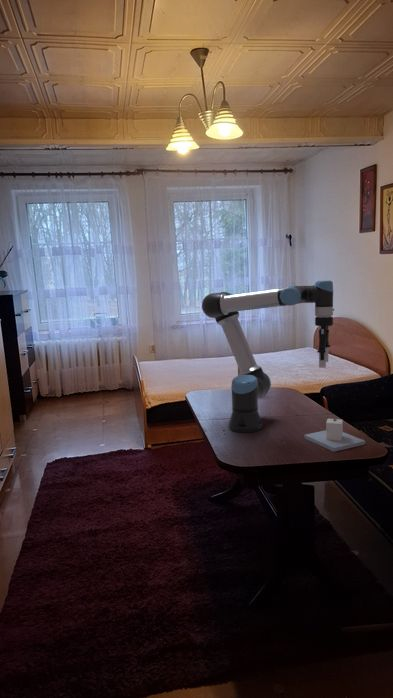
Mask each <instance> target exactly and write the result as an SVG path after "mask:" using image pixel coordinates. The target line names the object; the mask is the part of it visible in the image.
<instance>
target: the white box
mask: <svg viewBox="0 0 393 698" xmlns="http://www.w3.org/2000/svg"><path fill="white" fill-rule="evenodd" d="M343 425H344V424H343V419H339V418H336V417H333V418H327V420H326V423H325V430H326V439H327V440H338V441H342V434H343V432H344V429H343Z"/></svg>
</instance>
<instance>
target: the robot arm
mask: <svg viewBox="0 0 393 698" xmlns="http://www.w3.org/2000/svg"><path fill="white" fill-rule="evenodd" d="M313 303H314V316H315V318H314V325H315V326H316V327H320V328H319V330H318V338H319V339H318V341H319V342H318V350H317V351H316V353H318V367H319V369H320V368H324V369H325V368H326V365H327V364H326V363H329V348H331V345H330V343H329V334H330V329H329V327H331V326H333V324H334V317H333V315H334V311H335V308H334V284H333V281H332V280H316V281H315V283H314V285H292V286H287V287H281V288H273V289H267V290H258V291H257V290H256V291H251V292H245V293H236V294H233V293H230V292H227V291H221V292H212V293H209V294H208V295H206V296H205V297H204V298H203V299H202V303H201V310H202V312H203V314H205V316H206V317H209V318H211V319H215V322H216V325H220V326H221V328H222V331H223V333H224V335H225V339H227V343H228V345H229V347H230V349H231V353H232V355H233V357H234V359H235V363H236V364H237V368H238V367H239V369H240V374H239V376H238V375H237V376H235V377H234V378H233V379H232V380H231V387H230V388H231V404H232V405H231V407H232V409H231V413H230V417H229V422H228V428H229V430H231V431H233V432H236V433H255V432H258V431H260V430H261V429H263V422H262V419H261V416H260V413H259V399H261V398H263V397H265V396H266V395H267V393H269V391H270V389H271V387H272V381H271V378H270V376H269V375H268V374H267V373H265V372H264V370H263V368H262V366H261V365H258V364H257V362H256V359H255V357H254V355H253V352H252V349H251V347H250V345H249V342H248V340H247V338H246V336H245V333H244V330H243V328H242V326H241V323H240V320H239V317H240V313H239V312H241V311H242V312H243V311H251V310H260V309H261V310H262V309H267V308H268V309H270V308H277V307H286V306H289V307H290V306H291V307H292V306H295V305H298V304H313Z"/></svg>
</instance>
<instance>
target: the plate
mask: <svg viewBox="0 0 393 698" xmlns="http://www.w3.org/2000/svg"><path fill="white" fill-rule="evenodd" d="M304 439H305V440H308V441H310V442H311V443H314V444H316V445H317V446H320V447H323V448H325V449H327V450H329V451H331V452H334V453H335V452H338V451H342V450H343V451H344V450H348V449H352V448H356V447H361V446H364V445H366V440H365V439H362V438H360V437H357V436H355V435H352V434H350V433H346V432H344V431H343V434H342V441H338V440H327V439H326V429H325V430H321V431H317V432H316V431H315V432H311V433H306V434H304Z"/></svg>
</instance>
